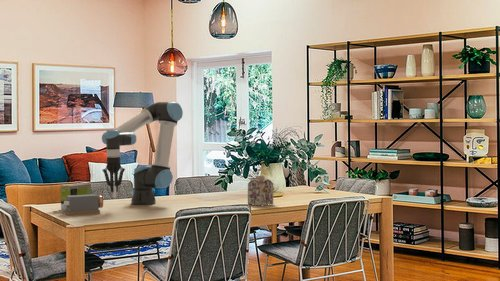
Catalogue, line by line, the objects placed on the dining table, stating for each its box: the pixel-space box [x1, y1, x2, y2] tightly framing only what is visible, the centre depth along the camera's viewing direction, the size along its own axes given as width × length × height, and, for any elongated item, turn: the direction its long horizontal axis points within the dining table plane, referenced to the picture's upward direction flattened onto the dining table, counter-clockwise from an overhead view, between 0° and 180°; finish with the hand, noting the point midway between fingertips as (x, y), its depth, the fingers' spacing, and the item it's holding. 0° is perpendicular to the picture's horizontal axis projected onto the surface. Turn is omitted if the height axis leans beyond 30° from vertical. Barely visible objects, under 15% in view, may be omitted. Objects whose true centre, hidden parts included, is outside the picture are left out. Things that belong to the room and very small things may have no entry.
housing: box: [63, 193, 101, 217], centre depth 377 cm, size 17×12×10 cm
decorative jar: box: [247, 175, 274, 206], centre depth 417 cm, size 12×12×18 cm
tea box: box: [60, 182, 92, 211], centre depth 395 cm, size 15×10×15 cm, turn 141°
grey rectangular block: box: [64, 194, 104, 209], centre depth 377 cm, size 21×7×7 cm, turn 120°
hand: (114, 197), depth 386 cm, fingers closed
